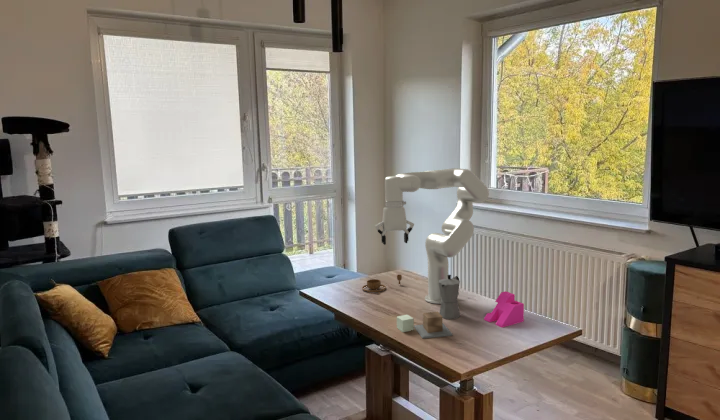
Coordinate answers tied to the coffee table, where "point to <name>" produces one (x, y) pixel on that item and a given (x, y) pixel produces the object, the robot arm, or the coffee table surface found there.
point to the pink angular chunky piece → (506, 311)
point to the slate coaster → (425, 334)
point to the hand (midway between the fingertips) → (395, 243)
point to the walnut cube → (432, 322)
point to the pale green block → (405, 323)
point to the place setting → (377, 284)
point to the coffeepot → (449, 297)
